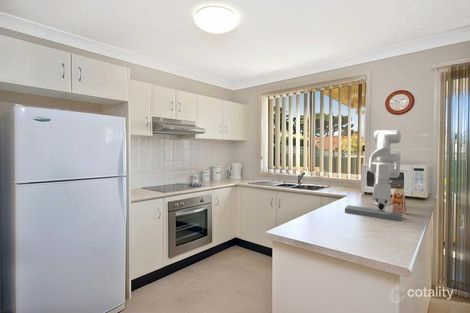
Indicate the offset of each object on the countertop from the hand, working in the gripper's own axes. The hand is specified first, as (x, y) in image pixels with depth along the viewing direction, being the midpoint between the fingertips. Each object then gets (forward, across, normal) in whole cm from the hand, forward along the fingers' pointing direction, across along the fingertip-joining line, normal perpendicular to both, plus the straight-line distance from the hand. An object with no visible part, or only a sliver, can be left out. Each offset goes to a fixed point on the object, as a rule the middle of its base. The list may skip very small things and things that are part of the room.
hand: (381, 209), depth 165 cm
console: (+4, +5, 0) cm, 6 cm away
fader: (+1, -4, 0) cm, 4 cm away
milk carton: (+4, -9, -19) cm, 22 cm away
